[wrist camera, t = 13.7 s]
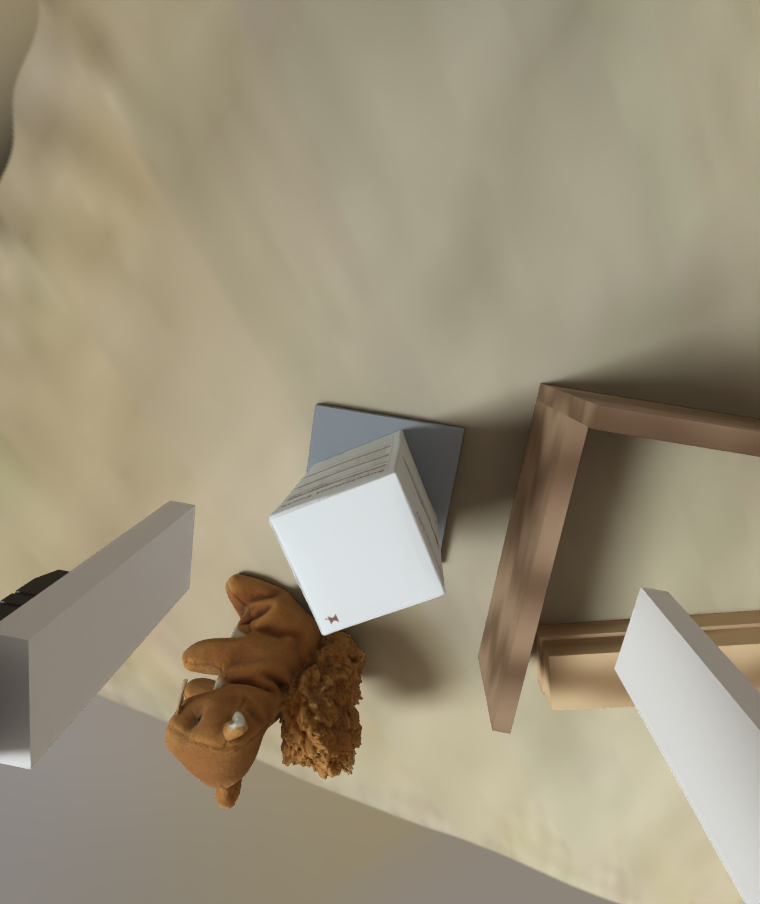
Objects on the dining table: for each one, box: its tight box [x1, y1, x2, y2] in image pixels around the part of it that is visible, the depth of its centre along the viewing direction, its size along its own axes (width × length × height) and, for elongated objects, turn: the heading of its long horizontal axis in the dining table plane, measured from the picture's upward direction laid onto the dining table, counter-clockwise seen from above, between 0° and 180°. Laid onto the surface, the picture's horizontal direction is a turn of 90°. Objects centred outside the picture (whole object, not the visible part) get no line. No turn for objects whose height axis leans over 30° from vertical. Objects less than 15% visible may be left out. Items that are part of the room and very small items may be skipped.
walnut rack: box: [478, 384, 760, 734], centre depth 33 cm, size 23×26×12 cm
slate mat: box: [307, 404, 464, 550], centre depth 39 cm, size 11×11×1 cm
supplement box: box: [269, 430, 445, 636], centre depth 32 cm, size 7×7×13 cm
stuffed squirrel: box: [165, 574, 366, 808], centre depth 36 cm, size 10×14×13 cm
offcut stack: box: [535, 611, 760, 711], centre depth 39 cm, size 5×18×4 cm, turn 97°
